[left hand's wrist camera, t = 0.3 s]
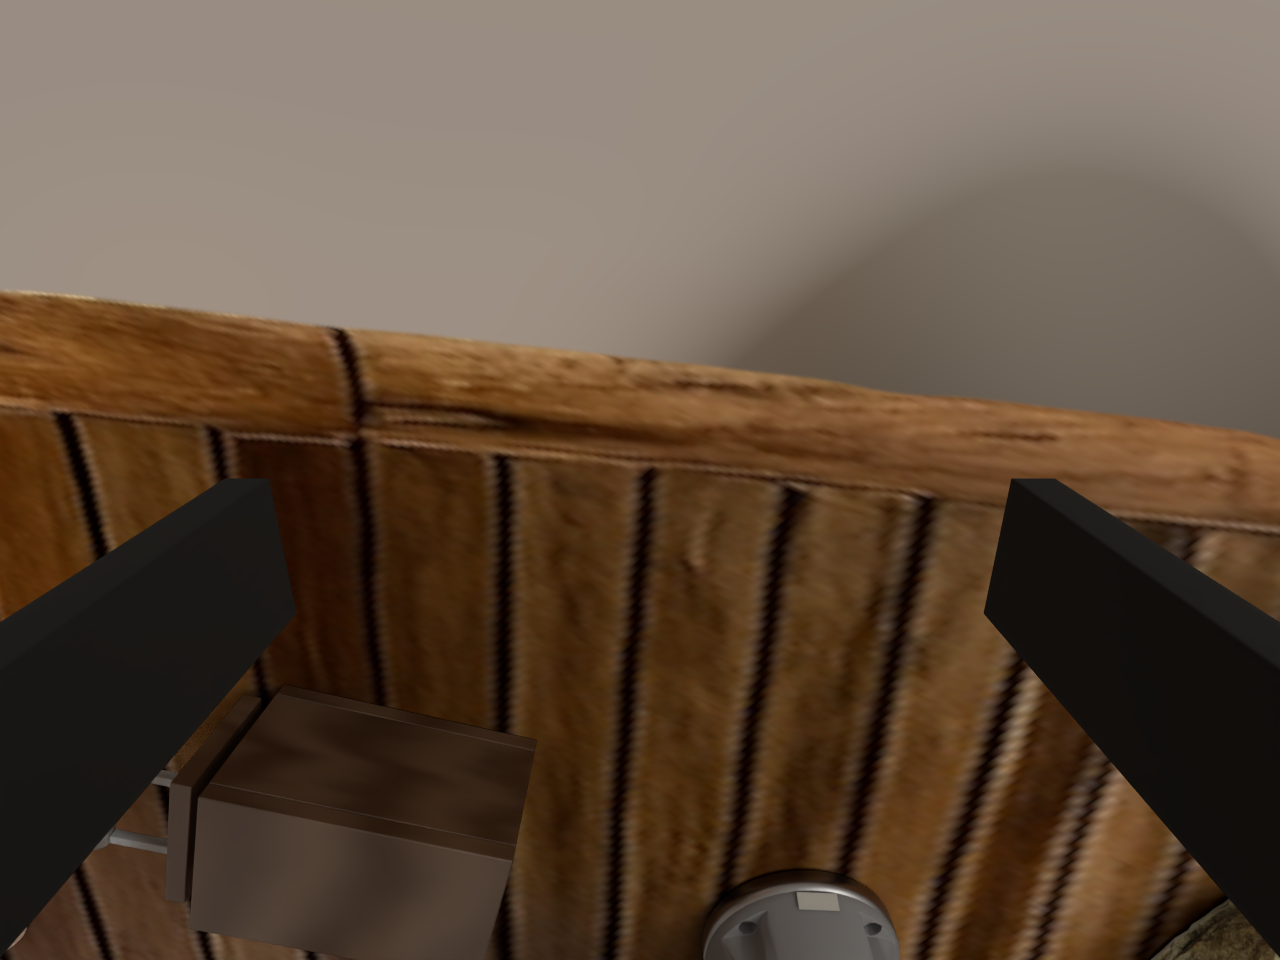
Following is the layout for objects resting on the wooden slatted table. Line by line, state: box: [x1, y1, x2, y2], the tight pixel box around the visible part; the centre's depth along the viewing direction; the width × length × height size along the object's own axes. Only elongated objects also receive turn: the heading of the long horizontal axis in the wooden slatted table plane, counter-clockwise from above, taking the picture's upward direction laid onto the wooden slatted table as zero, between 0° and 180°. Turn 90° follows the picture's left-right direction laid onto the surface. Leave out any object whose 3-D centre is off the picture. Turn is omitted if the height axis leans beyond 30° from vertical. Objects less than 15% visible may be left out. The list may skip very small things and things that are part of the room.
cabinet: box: [190, 685, 537, 960], centre depth 45 cm, size 18×11×10 cm, turn 74°
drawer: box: [93, 694, 261, 903], centre depth 45 cm, size 22×10×8 cm, turn 74°
